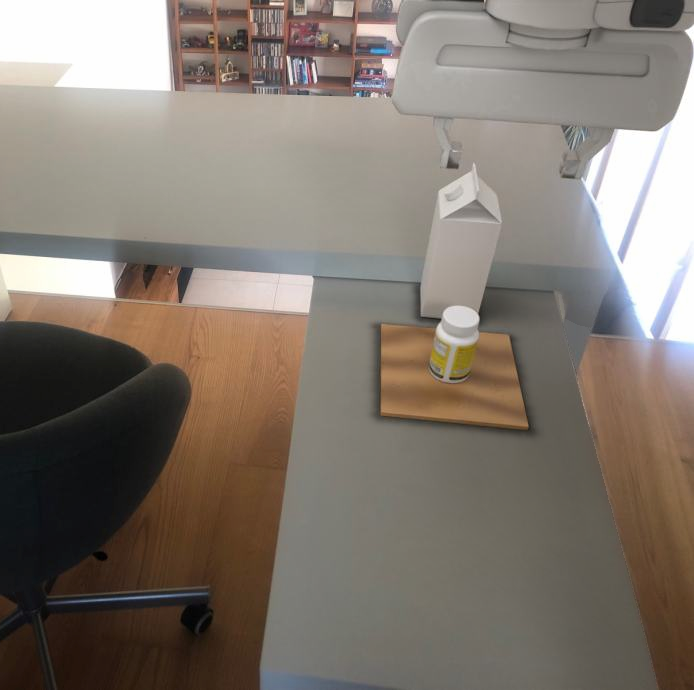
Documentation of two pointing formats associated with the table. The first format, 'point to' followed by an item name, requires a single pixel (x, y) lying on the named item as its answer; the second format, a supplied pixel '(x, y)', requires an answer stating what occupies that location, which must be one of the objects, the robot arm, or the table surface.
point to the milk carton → (460, 246)
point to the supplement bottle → (454, 344)
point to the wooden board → (449, 398)
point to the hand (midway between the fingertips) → (508, 170)
